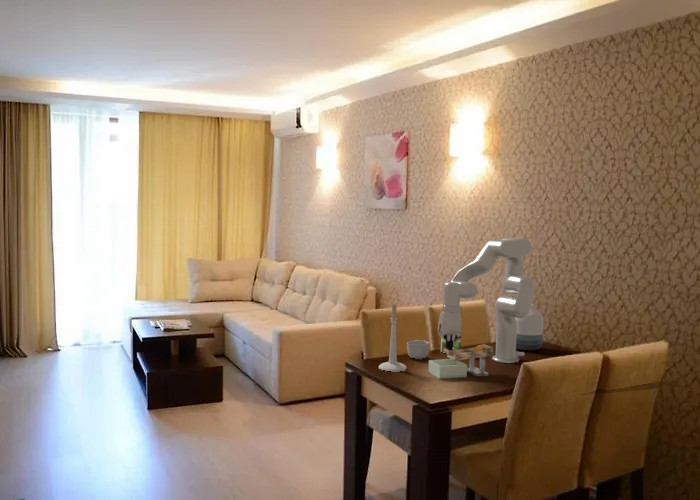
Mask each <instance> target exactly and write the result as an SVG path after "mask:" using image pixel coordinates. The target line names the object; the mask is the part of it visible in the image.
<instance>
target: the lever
mask: <svg viewBox="0 0 700 500" xmlns="http://www.w3.org/2000/svg"><path fill="white" fill-rule="evenodd" d="M479 345H480V346H482V347H483V351H475V348H476V346H475V347H470V348H469V347H468V348H461V349H460V350H457V349H455V348H452V350H448V349H443V351H444V352H446V353H447V354H446V357H447V358H448V359H452V360H454V361H456V360H459V361H462V360H469V359H471V358H475V359H477V358H480V355H485V357H490V356H492V357H493V356H494V347H493V346H490V345H487V344H479Z"/></svg>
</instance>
